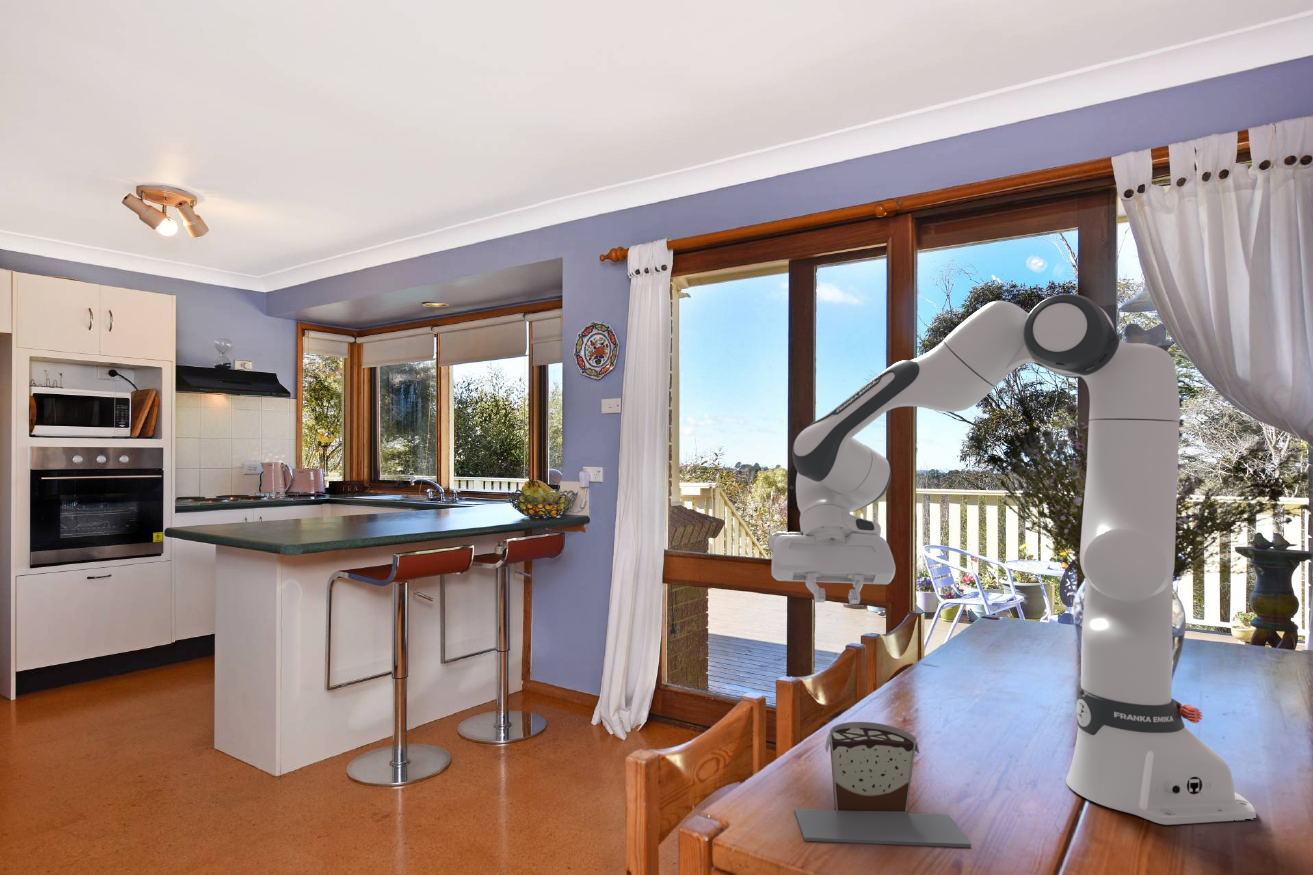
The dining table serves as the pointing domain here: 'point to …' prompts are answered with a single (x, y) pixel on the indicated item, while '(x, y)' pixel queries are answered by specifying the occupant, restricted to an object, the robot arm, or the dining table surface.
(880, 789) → the food container
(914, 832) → the charcoal rubber mat
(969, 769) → the dining table surface
